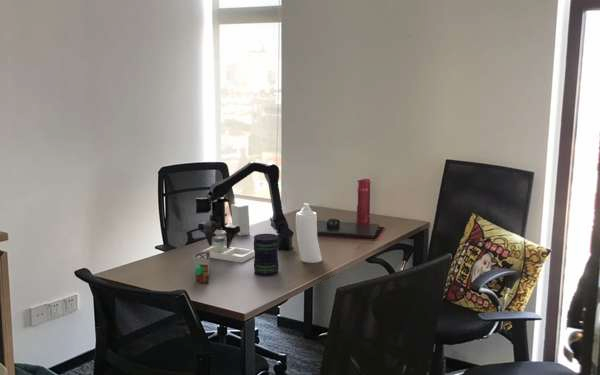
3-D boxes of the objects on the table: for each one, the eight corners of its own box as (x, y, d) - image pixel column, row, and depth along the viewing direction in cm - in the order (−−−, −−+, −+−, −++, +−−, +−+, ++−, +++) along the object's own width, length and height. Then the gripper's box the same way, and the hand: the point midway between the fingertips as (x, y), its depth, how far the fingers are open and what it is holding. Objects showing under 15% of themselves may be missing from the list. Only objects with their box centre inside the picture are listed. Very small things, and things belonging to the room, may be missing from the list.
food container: (194, 275, 243) (193, 250, 241) (210, 274, 243) (209, 250, 241) (191, 285, 230) (191, 259, 229) (208, 285, 231) (207, 259, 229)
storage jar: (262, 267, 252) (262, 232, 250) (283, 271, 248) (283, 235, 245) (248, 274, 244) (248, 237, 241) (269, 278, 239) (269, 241, 236)
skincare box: (249, 234, 305) (249, 205, 303) (239, 236, 302) (238, 206, 300) (241, 231, 312) (241, 202, 310) (231, 232, 309) (230, 203, 306)
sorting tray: (255, 255, 269) (255, 250, 268) (242, 262, 259) (242, 256, 259) (216, 250, 278) (216, 244, 277) (202, 256, 268) (201, 250, 268)
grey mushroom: (227, 252, 272) (226, 237, 270) (220, 255, 267) (220, 240, 266) (217, 251, 274) (217, 236, 273) (211, 254, 269) (210, 238, 268)
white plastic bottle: (317, 265, 256) (317, 206, 251) (292, 263, 259) (293, 205, 254) (324, 257, 267) (325, 201, 262) (300, 255, 270) (301, 199, 265)
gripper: (189, 213, 264) (190, 248, 267) (226, 218, 256) (227, 254, 259) (204, 208, 274) (205, 242, 277) (240, 212, 266) (241, 247, 269)
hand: (219, 246), depth 270 cm, fingers open, 9 cm apart
